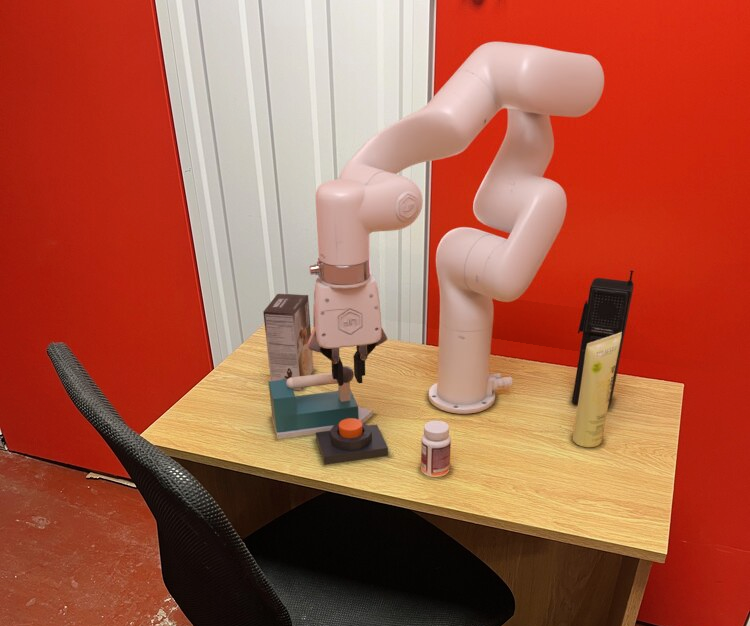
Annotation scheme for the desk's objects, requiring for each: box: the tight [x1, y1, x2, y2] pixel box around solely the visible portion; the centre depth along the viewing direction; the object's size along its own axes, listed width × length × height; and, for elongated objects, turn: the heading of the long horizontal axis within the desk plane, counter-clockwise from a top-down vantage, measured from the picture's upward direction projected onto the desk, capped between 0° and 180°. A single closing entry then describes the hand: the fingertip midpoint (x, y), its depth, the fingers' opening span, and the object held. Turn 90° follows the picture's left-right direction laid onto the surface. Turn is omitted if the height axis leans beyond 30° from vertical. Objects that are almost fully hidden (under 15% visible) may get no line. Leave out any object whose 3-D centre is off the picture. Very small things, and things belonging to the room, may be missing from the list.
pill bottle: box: [420, 419, 452, 478], centre depth 126 cm, size 5×5×8 cm
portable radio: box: [571, 269, 635, 410], centre depth 139 cm, size 8×6×25 cm
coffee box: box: [262, 293, 314, 391], centre depth 150 cm, size 9×6×16 cm
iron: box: [268, 365, 374, 440], centre depth 138 cm, size 18×8×10 cm, turn 103°
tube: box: [572, 332, 622, 448], centre depth 129 cm, size 6×5×20 cm
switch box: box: [315, 422, 389, 466], centre depth 133 cm, size 11×8×4 cm
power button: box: [339, 418, 363, 438], centre depth 132 cm, size 4×4×2 cm
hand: (348, 380), depth 126 cm, fingers closed
